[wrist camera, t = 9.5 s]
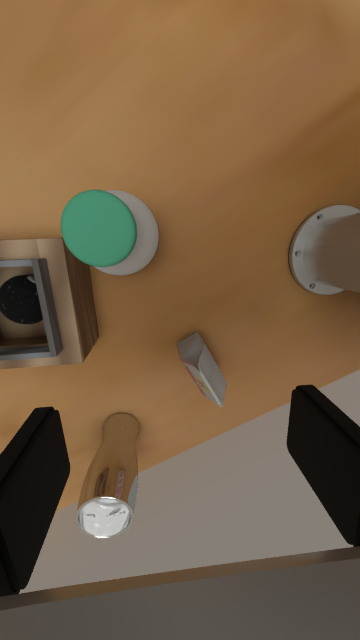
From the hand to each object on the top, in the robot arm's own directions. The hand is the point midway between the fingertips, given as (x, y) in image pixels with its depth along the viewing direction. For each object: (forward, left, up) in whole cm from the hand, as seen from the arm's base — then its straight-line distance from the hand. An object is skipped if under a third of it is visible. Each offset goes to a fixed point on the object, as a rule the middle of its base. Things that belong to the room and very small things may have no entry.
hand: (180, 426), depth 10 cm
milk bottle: (+4, -8, -28) cm, 30 cm away
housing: (+17, -1, -28) cm, 33 cm away
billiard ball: (+17, -1, -27) cm, 32 cm away
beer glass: (+8, +23, -28) cm, 37 cm away
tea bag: (-5, +10, -28) cm, 31 cm away
